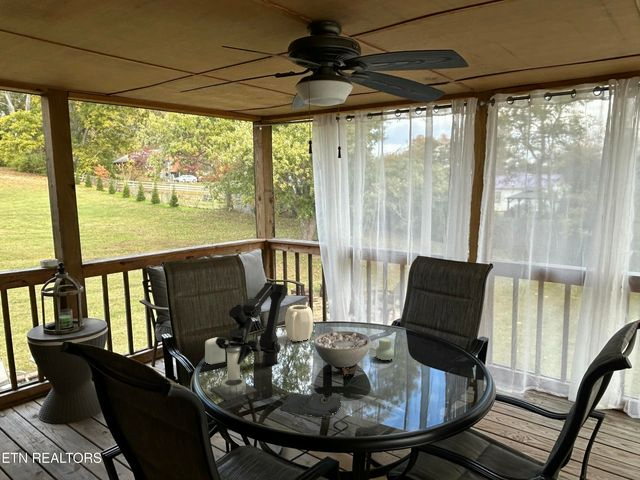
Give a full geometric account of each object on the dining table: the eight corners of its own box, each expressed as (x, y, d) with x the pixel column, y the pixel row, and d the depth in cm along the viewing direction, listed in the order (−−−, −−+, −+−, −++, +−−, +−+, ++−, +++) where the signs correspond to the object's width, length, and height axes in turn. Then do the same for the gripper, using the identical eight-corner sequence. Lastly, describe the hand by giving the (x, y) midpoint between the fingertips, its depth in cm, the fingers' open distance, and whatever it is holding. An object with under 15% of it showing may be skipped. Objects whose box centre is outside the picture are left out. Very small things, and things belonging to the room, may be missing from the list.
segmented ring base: (240, 380, 195) (239, 373, 194) (257, 391, 184) (257, 383, 184) (210, 389, 186) (210, 381, 186) (226, 401, 175) (226, 392, 175)
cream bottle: (239, 374, 188) (239, 345, 187) (241, 379, 183) (241, 350, 182) (225, 376, 186) (225, 347, 185) (227, 381, 181) (227, 351, 180)
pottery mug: (357, 370, 209) (360, 358, 205) (352, 385, 202) (356, 374, 197) (332, 362, 211) (335, 350, 207) (327, 377, 203) (330, 365, 199)
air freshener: (394, 363, 217) (394, 343, 217) (377, 362, 218) (378, 343, 217) (391, 355, 228) (391, 336, 227) (375, 355, 229) (375, 336, 228)
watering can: (319, 333, 266) (319, 302, 264) (305, 347, 240) (305, 313, 238) (295, 331, 270) (295, 300, 268) (278, 344, 245) (278, 310, 243)
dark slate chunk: (293, 395, 182) (293, 384, 181) (344, 403, 174) (344, 392, 174) (277, 412, 167) (277, 399, 167) (332, 422, 160) (332, 409, 160)
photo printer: (224, 359, 221) (223, 335, 220) (227, 361, 218) (226, 337, 217) (203, 363, 216) (203, 338, 215) (206, 366, 212) (206, 340, 211)
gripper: (217, 318, 189) (204, 352, 179) (257, 322, 184) (247, 357, 174) (225, 331, 197) (214, 364, 187) (265, 334, 192) (255, 369, 183)
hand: (232, 363), depth 183 cm, fingers closed on cream bottle, 5 cm apart
